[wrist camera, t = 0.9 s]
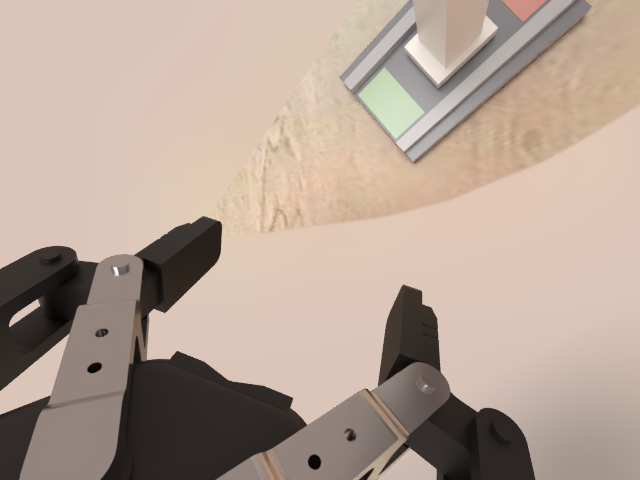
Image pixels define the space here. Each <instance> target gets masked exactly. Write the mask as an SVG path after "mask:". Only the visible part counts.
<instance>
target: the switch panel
mask: <svg viewBox="0 0 640 480" xmlns="http://www.w3.org/2000/svg"><path fill="white" fill-rule="evenodd" d="M591 7H592V6H591V5H590V4H588V3H587V2H586V1H585V0H489V3H488V7H487V11H486V16H487V17H488V18H489V19H490V20H491V21H492V22H493V23H494V24H495V25H496V26H497V27H498V30H497V33H496V36H494V37H493V38H492V39H491V40H490V41H489V42H488V43H487V44H486V45H485V46H484V47H483V48H482V49H481V50H480V51H478V52H477V53H476V54H475V55H474V56H473V57H472V58H471V59H470V60H469V61H468V62H467V63H466V64H465V65H463V66H462V67H461V68H460V69H459V70H458V71H457V72H456V73H455V74H454V75H453V76H452V77H451V78H450V79H449V80H447V81H446V82H445V83H444V84H443V85H442V86H441V87H440V88H439V89H438V88H437V87H436V86H435V85H434V83H433V82H432V81H431V80H430V79H429V78H428V77H427V76H426V75H425V74H424V73H423V71H422V70H421V69H420V68H419V67H418V66H417V65H416V64H415V63H414V62H413V60H412V59H411V58H410V57H409V56H408V55H407V54H406V52H405V48H404V47H405V45H406V44H407V43H408V42H409V41H410V40H411V39H412V38H413V37H414V36H415V35H416V34H417V33H418V31H417V25H416V19H415V12H414V6H413V0H409V1H408V2H407V3H406V5H405V6H404V7H403V8H402V9H401V10H400V11H399V12H398V13H397V14H396V16H395V17H394V18H393V19H392V20H391V21H390V22H389V23H388V24H387V25H386V27H385V28H384V29H383V30H382V31H381V32H380V33H379V34H378V35H377V37H376V38H375V39H374V40H373V41H372V42H371V43H370V44H369V45H368V46H367V48H366V49H365V50H364V51H363V52H362V53H361V54H360V55H359V56H358V57H357V59H356V60H355V61H354V62H353V63H352V64H351V65H350V66H349V67H348V69H347V70H346V71H345V72H344V73H343V74H342V75H341V76H340V77H339V78H340V79H341V80H342V81H343V82H344V84H345V85H346V86H347V87H348V88H349V89H350V90H351V92H352V93H353V94H354V95H355V96H356V97H357V98H358V99H359V101H360V102H361V103H362V104H363V105H364V106H365V108H366V109H367V110H368V111H369V112H370V113H371V115H372V116H373V117H374V118H375V119H376V120H377V121H378V123H379V124H380V125H381V126H382V127H383V128H384V130H385V131H386V132H387V133H388V134H389V135H390V136H391V138H392V139H393V140H394V141H395V142H396V144H397V145H398V146H399V147H400V148H401V149H402V151H403V152H404V153H405V154H406V155H407V156H408V157H409V158H410V160H411V161H412V162H413V163H415V162H416V161H417V160H418V159H419V158H420V157H422V156H423V155H424V154H425V153H426V152H427V151H429V150H430V149H431V148H432V147H433V146H434V145H436V144H437V143H438V142H439V141H440V140H441V139H443V138H444V137H445V136H446V135H447V134H448V133H450V132H451V131H452V130H453V129H454V128H455V127H456V126H458V125H459V124H460V123H461V122H462V121H463V120H465V119H466V118H467V117H468V116H469V115H470V114H472V113H473V112H474V111H475V110H476V109H477V108H479V107H480V106H481V105H482V104H483V103H484V102H486V101H487V100H488V99H489V98H490V97H491V96H492V95H494V94H495V93H496V92H497V91H498V90H499V89H501V88H502V87H503V86H504V85H505V84H506V83H508V82H509V81H510V80H511V79H512V78H513V77H515V76H516V75H517V74H518V73H519V72H520V71H522V70H523V69H524V68H525V67H526V66H527V65H529V64H530V63H531V62H532V61H533V60H534V59H535V58H537V57H538V56H539V55H540V54H541V53H542V52H544V51H545V50H546V49H547V48H548V47H549V46H551V45H552V44H553V43H554V42H555V41H556V40H558V39H559V38H560V37H561V36H562V35H563V34H565V33H566V32H567V31H568V30H569V29H570V28H571V27H573V26H574V25H575V24H576V23H577V22H578V21H580V20H581V19H582V18H583V17H584V16H585V14H586V13H587V12H588V11H589V10H590V8H591Z"/></svg>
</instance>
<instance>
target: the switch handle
mask: <svg viewBox="0 0 640 480" xmlns="http://www.w3.org/2000/svg"><path fill="white" fill-rule="evenodd" d="M488 3H489V0H413V6H414V12H415V19H416V25H417V31H418V33H417V34H416V35H415V36H414V37H413V38H412V39H411V40H410V41H409V42H408V43H407V44H406V45H405V47H404V48H405V52H406V54H407V55H408V56H409V57H410V58H411V59H412V60H413V62H414V63H415V64H416V65H417V66H418V67H419V68H420V69H421V70H422V71H423V73H424V74H425V75H426V76H427V77H428V78H429V79H430V80H431V81H432V82H433V83H434V85H435V86H436V87H437V88H438V89H439V88H440V87H441V86H442V85H443V84H444V83H445V82H446V81H447V80H449V79H450V78H451V77H452V76H453V75H454V74H455V73H456V72H457V71H458V70H459V69H460V68H461V67H462V66H463V65H465V64H466V63H467V62H468V61H469V60H470V59H471V58H472V57H473V56H474V55H475V54H476V53H477V52H478V51H480V50H481V49H482V48H483V47H484V46H485V45H486V44H487V43H488V42H489V41H490V40H491V39H492V38H493V37H494V36H496V33H497V30H498V27H497V26H496V25H495V24H494V23H493V22H492V21H491V20H490V19H489V18H488V17H487V16H486V11H487V7H488Z"/></svg>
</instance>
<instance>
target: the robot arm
mask: <svg viewBox="0 0 640 480" xmlns="http://www.w3.org/2000/svg"><path fill="white" fill-rule="evenodd" d="M221 236H222V224H221V222H219V221H217V220H214V219H211V218H208V217H205V216H203V217H201V218H199V219H198V220H197V221H195V222H194V223H192V224H190V223H187V224H185V225H181V226H178V227H176V228H174V229H173V230H171V231H170V232H168V234H165V235H164V236H162V237H161V238H160V239H158V240H156V241H155V242H153V243H152V244H150V245H149V246H147V247H146V248H144V249H143V250H141V251H140V252H138V253H137V254H135V255H134V256H133V255H127V254H125V255H123V254H122V255H115V256H111V257H109V258H106V259H104V260H103V261H101V262H100V263H94V262H85V261H78V259H77V255H76V252H75V251H74V250H73V249H71V248H69V247H64V246H51V247H46V248H42V249H39V250H36V251H34V252H32V253H30V254H28V255H26V256H24V257H22V258H20V259H19V260H17V261H15V262H13V263H11V264H9V265H7V266H5V267H3V268H1V269H0V391H1V390H2V389H3V388H4V387H6V386H7V385H8V384H9V383H10V382H12V381H13V380H14V379H15V378H16V377H18V376H19V375H20V374H21V373H22V372H24V371H25V370H26V369H27V368H28V367H29V366H31V365H32V364H33V363H34V362H35V361H37V360H38V359H39V358H40V357H42V356H43V355H44V354H45V353H46V352H48V351H49V350H50V349H51V348H52V347H53V346H55V345H56V344H57V343H58V342H59V341H61V340H62V339H63V338H64V337H66V336H67V335H68V334H69V333H70V334H69V338H68V341H67V345H66V347H65V351H64V354H63V357H62V361H61V364H60V368H59V371H58V374H57V377H56V381H55V384H54V387H53V391H52V394H51V396H48V397H45V398H43V399H40V400H38V401H35V402H32V403H30V404H27V405H24V406H22V407H19V408H17V409H14V410H12V411H9V412H6V413H4V414H1V415H0V480H378V479H379V478H380V477H381V476H382V475H383V474H384V473H385V472H386V471H387V470H388V469H389V468H390V467H391V466H392V465H393V464H395V463H396V462H397V461H398V460H399V459H400V458H401V457H402V456H403V455H404V454H405V453H406V452H407V451H408V450H409V449H412V450H413V451H415V452H416V453H417V454H419V455H420V456H421V457H422V458H424V459H425V460H426V461H427V462H429V463H430V464H431V465H433V466H434V467H435V468H436V469H437V480H535V476H534V471H533V467H532V462H531V458H530V453H529V449H528V445H527V441H526V438H525V436H524V434H523V433H522V431H521V429H520V428H519V427H518V425H517V424H516V423H515V422H514V421H513V420H512V419H511V418H510V417H508V416H507V415H505V414H504V413H502V412H500V411H498V410H496V409H492V408H484V409H481V410H480V411H479V412H476V411H475V410H473V409H472V408H471V407H469V406H468V405H466V404H465V403H463V402H462V401H460V400H459V399H458V398H456V397H455V396H454V395H453V394H452V393H451V392H450V387H449V384H448V382H447V380H446V379H445V377H444V376H443V375H442V374H441V371H440V356H439V340H438V331H437V329H438V324H437V318H436V316H435V314H434V312H433V310H432V308H431V307H428V306H425V305H422V291H421V290H418V289H415V288H412V287H409V286H406V285H403V286H402V287H401V289H400V292H399V294H398V296H397V298H396V300H395V302H394V305H393V307H392V309H391V311H390V314H389V316H388V319H387V324H386V329H385V337H384V344H383V352H382V360H381V367H380V374H379V382H378V387H377V388H375V389H374V390H372V391H369V390H368V389H363V390H361V391H359V392H357V393H356V394H354V395H353V396H351V397H350V398H348V399H347V400H345V401H344V402H342V403H341V404H339V405H338V406H336V407H335V408H333V409H332V410H330V411H329V412H327V413H325V414H324V415H323V416H321V417H320V418H318V419H316V420H315V421H314V422H312V423H310V424H309V425H307V424H306V423H305V422H304V420H303V419H302V418H301V417H300V416H299V415H298V414H297V413H296V412H295V411H293V410H292V409H291V408H290V407H291V404H292V400H293V398H292V397H290V396H287V395H285V394H282V393H280V392H277V391H275V390H272V389H270V388H267V387H265V386H260V385H253V384H246V383H239V382H232V381H229V380H227V379H226V378H224V377H223V376H222V375H221V374H219V373H218V372H217V371H215V370H214V369H213V368H212V367H210V366H209V365H208V364H206V363H205V362H203V361H201V360H198V359H196V358H193V357H191V356H188V355H186V354H183V353H181V352H179V351H177V352H176V353H175V354H174V355H173V356H172V357H171V359H170V360H169V359H154V360H147V344H148V329H149V313H150V312H151V311H152V310H153V309H156V310H159V311H161V312H164V313H165V312H167V311H168V310H169V309H170V308H171V307H172V306H173V305H174V304H175V303H176V302H177V301H178V300H179V299H180V298H181V297H182V296H183V295H184V294H185V293H186V292H187V291H188V290H189V289H190V288H191V287H192V286H193V285H194V284H195V283H196V282H197V281H198V280H199V279H200V278H201V277H203V276H204V274H205V273H207V272H208V271H209V270H210V269H211V268H212V267H213V266H214V265H215V263H216V262H217V261H218V259H219V256H220V253H221ZM37 299H38V301H39V304H40V307H38V308H37V309H35V310H34V311H32V312H31V313H30V314H28V315H27V316H25V317H24V318H22V319H21V320H19V321H18V322H16V323H15V324H14V325H12V326H11V327H9V322H10V320H11V318H12V317H13V316H14V315H15V314H16V313H17V312H18V311H20V310H21V309H23V308H24V307H26V306H27V305H29V304H31V303H32V302H33V301H35V300H37Z"/></svg>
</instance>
